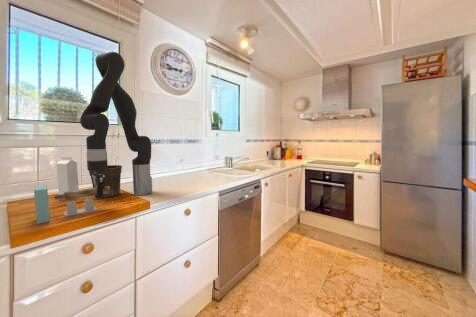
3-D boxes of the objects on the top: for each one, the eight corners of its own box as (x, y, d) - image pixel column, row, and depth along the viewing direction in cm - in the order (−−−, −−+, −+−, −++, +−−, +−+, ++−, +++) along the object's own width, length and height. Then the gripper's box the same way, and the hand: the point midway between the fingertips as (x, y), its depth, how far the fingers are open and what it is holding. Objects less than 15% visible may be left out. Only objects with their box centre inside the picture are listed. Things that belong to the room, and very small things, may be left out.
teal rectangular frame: (49, 215, 85) (47, 185, 84) (49, 221, 79) (47, 189, 78) (37, 217, 83) (35, 186, 82) (37, 224, 76) (34, 190, 75)
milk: (69, 199, 108) (65, 157, 105) (58, 199, 108) (55, 157, 106) (79, 196, 114) (76, 156, 111) (69, 196, 114) (66, 156, 112)
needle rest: (95, 208, 94) (94, 197, 94) (97, 210, 91) (96, 199, 90) (64, 214, 87) (63, 202, 86) (64, 216, 83) (63, 204, 83)
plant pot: (85, 200, 105) (83, 169, 104) (93, 193, 120) (92, 165, 119) (121, 197, 111) (120, 168, 110) (125, 190, 126) (124, 164, 125)
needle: (109, 192, 96) (108, 185, 96) (110, 193, 94) (110, 186, 94) (54, 200, 84) (54, 192, 83) (55, 201, 82) (54, 194, 81)
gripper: (110, 159, 89) (112, 199, 90) (104, 157, 99) (106, 193, 101) (89, 161, 84) (92, 202, 85) (84, 158, 94) (87, 195, 96)
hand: (99, 197), depth 93 cm, fingers closed on needle, 2 cm apart
